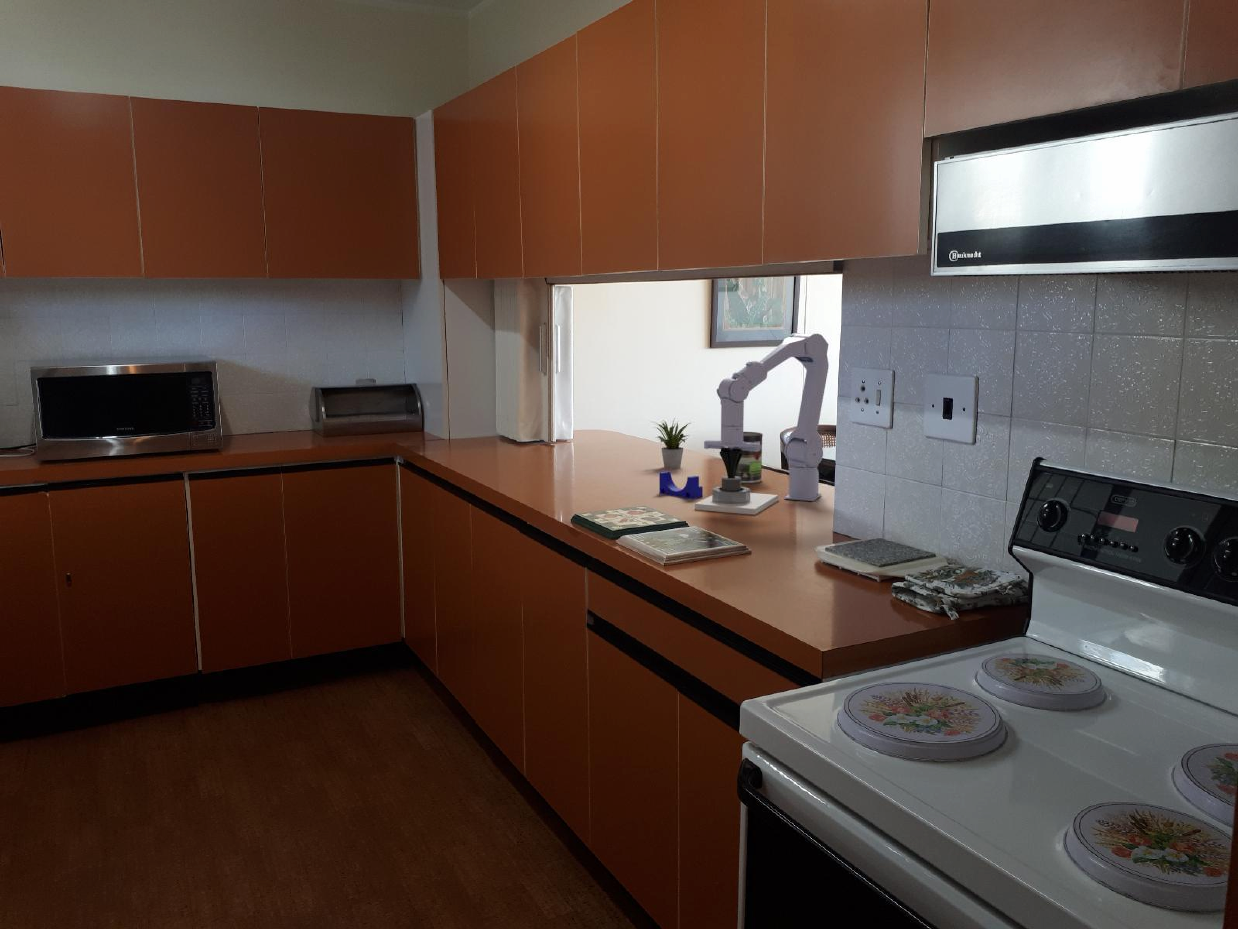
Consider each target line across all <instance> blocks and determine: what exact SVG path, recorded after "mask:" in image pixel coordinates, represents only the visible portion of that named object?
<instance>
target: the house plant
mask: <svg viewBox="0 0 1238 929" xmlns="http://www.w3.org/2000/svg"><path fill="white" fill-rule="evenodd" d="M675 419H676V417H675V418H673V420H672V425H671V426H670V427H668V424H667V421H665V420H664V419H663V420H662V421H661V424H658V423H657V422H655V421H653V423H654V424H655V425H658V427H653V429H654V428H655V429H657V430H659V432H660V433H661V435H662V436H660V435H658V436H656V439H657V438H658V439H659V440H660V443H662V442H663V443H664V445H665V446H664V447H661V453H662V454H661V455H662V461H663V468H664V467H665V468H664V469H668V468H677V469H680V468H681V465H682V460H683V454H684V447H680V445H681V444H682V442H683V443H684V444H685V443H686V438H687V437H689V436H690V435H684V433H683V431H684V430H685V429H686V428H687V427H688V425H690V424H692V423H693V422H689V423H686V424H685V425H683V427H681V428H680V429H679V423H678V422H676V424H674V423H675ZM650 422H651V423H652V421H650ZM650 422H649V423H650ZM659 427H660V428H659ZM674 429H675V430H674ZM683 438H684V439H683Z"/></svg>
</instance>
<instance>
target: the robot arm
mask: <svg viewBox="0 0 1238 929" xmlns="http://www.w3.org/2000/svg"><path fill="white" fill-rule="evenodd" d="M828 350H829V343H828V342H827V340H826V339H825V338H824V336H823V335H822V334H820V333H800V332H795V333H794V332H793V333H792V334H790V335H789V336H788V337H785V338H784V339H783V341H782V342H781V343H780V344H779V345H777V346H776V348H774V349H773V350H772V351H770V353H768V354H767V355H766V356H765V357H763V358H762V359H761V360H760V361H758V360H753V361H747V362H746V363H745V365H746V366H745V367H743V368H741V369H740V370H739V371H737V372H734V373H732V376H731V378H730V377H727V378H723V379H722V380H721V381H720V383H719V385H718V388H717V389H716V394H717V396H718V397H719V400H720V405H721V407H720V410H721V411H720V440H704V441H703V447H704V450H705V449H706V450H708V449H713V450H720V451H719V456H720V457H721V459H722V462H723V464H724V467H725V470H726V474H727V475H726V476H728V478H735V475H736V471H737V467H738V464H739V462H740V459H741V457H742V455H743V454H744V451H754V452H758V451H760V443H750V442H743V432H744V414H745V413H744V412H745V410H744V409H745V406H744V405H745V400H747V398H748V396H749V394H750V392H751V391H752V390H753V389H754V388H756V387H758V386H759V385H760V384H762V382H764V381H766V379H767V377H768V373H769V372H770V371H772V370H773V369H775V368H776V367H778V366H779V365H781V364H782V363H784V362H786V361H787V360H788V359H791V358H794V359H795V360H797V361H798V362H799V363H801V364H802V366H803V368H804V369H805V370H806V372H805V379H804V385H803V390H802V396H801V402H800V407H799V413H798V417H797V418H798V419H797V425H796V428H795V429H794V430H793V431H791V432H790V434H789V438H788V440H787V443H786V444H785V446H784V449H783V450H784V452H783V453H784V456H785V459H787V461H788V465H789V477H788V480H789V481H788V488H789V489H788V494H787V495H786V496H784V499H785V500H796V501H805V502H806V501H808V502H813V501H816V500H818V499H819V498H820V497H821V496H822V495H823V494H822V493H819V482H820V481H819V479H820V474H819V472H820V471H819V469H818V467H819V464H820V463H821V461H823V460H822V459H823V457H824V450H823V441H824V440H823V438H822V436H821V435H820V433H819V432H818V430H819V422H820V416H821V411H822V407H823V402H824V395H825V391H826V390H825V389H826V384H827V378H828V374H829V373H828V372H829V365H830V364H829V358H828ZM731 447H738V448H731ZM743 450H744V451H743Z"/></svg>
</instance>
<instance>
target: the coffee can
mask: <svg viewBox="0 0 1238 929" xmlns="http://www.w3.org/2000/svg"><path fill="white" fill-rule="evenodd" d="M763 436H764V434H763V433H761V432H757V431H743V442H750V443H760V451H758V452H754V451H744V450H743V451H744V454H743V455H742V457H741V459H740V462H739V464H738V467H737V471H736V475H735V476H738V477H741V484H756V483H761V482H762V480H763V479H762V471H763V470H762V464H763V463H762V462H763V461H762V460H763ZM731 448H738V447H731ZM760 481H761V482H760Z"/></svg>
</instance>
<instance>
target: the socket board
mask: <svg viewBox="0 0 1238 929" xmlns="http://www.w3.org/2000/svg"><path fill="white" fill-rule="evenodd" d="M721 486H722V485H721ZM721 486H720V485H719V486H716V487H714V488H712V493H711V495H710V496H707V497H705V498H703V499H702V500H699V501H698V502H696V503H694V510H696V511H709V512H718V513H719V512H720V513H727V514H728V513H730V514H742V515H753V516H756V515H758V514H759V513H761V512H762V511H763V510H765V509H767V508H769V507H771V505H774V504H775V503H777V502H778V501H779V494H768V493H758V492H757V493H755V492H751V488H748V487H746V486H741V491H733V492H731V491H721Z"/></svg>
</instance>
